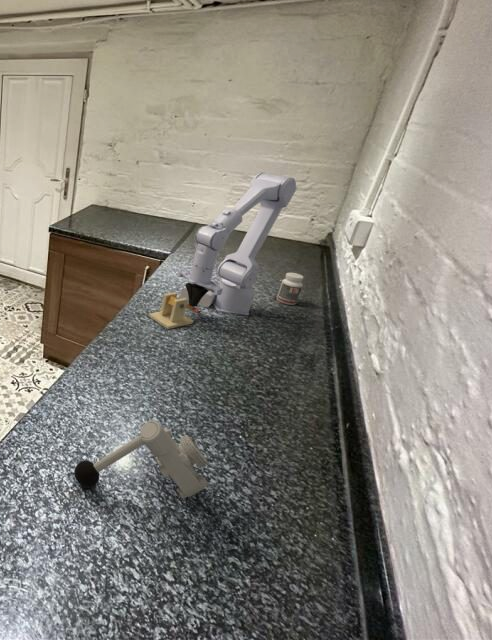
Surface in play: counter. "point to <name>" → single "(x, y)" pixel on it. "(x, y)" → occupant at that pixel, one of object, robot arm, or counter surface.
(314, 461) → the counter surface
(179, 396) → the counter surface
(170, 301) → the lever
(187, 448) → the valve
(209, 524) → the counter surface
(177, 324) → the bracket
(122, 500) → the counter surface
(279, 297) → the pill bottle
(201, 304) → the charger
